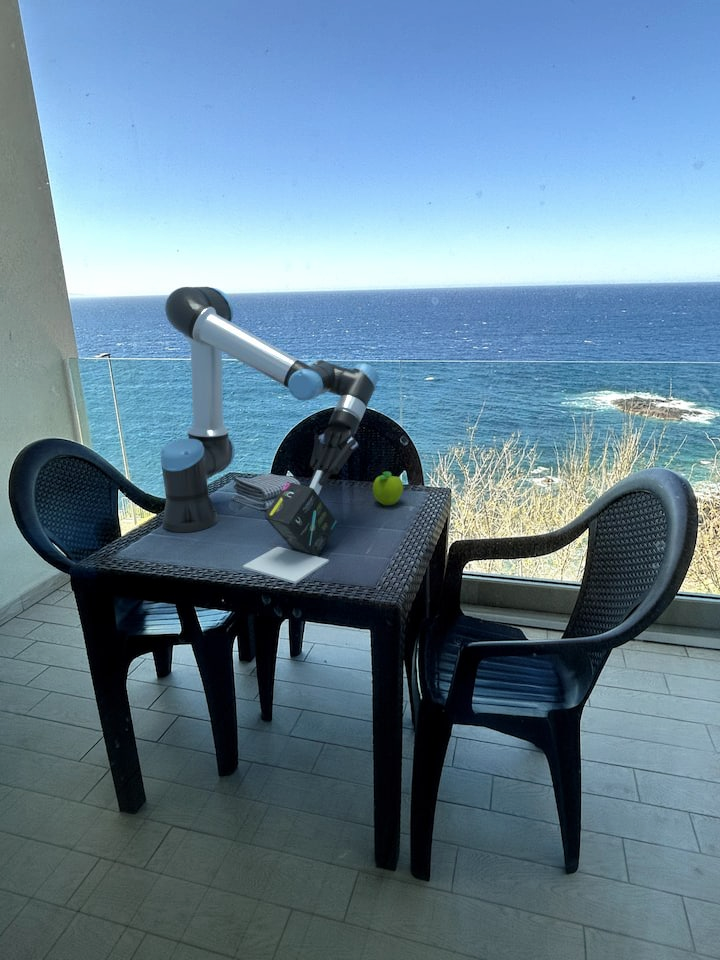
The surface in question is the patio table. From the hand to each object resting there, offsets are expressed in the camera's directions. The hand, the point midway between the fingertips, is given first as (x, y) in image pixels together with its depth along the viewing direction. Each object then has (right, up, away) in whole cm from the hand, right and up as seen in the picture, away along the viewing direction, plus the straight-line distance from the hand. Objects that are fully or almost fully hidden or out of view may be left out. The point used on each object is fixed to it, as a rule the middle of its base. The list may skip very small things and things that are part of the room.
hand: (311, 495), depth 146 cm
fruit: (+21, -4, +35) cm, 40 cm away
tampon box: (+1, -11, +4) cm, 11 cm away
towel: (-18, -3, +41) cm, 45 cm away
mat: (-6, -17, -5) cm, 18 cm away
